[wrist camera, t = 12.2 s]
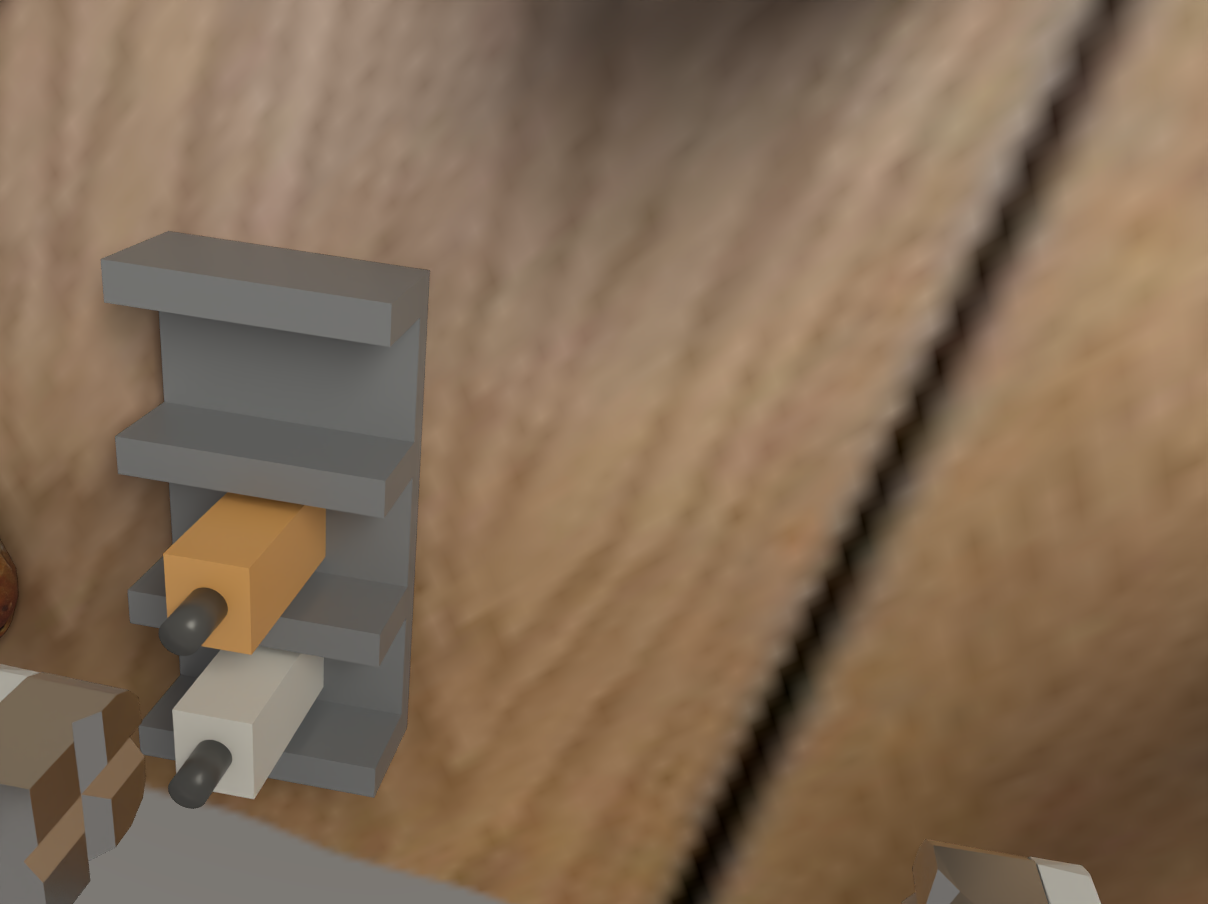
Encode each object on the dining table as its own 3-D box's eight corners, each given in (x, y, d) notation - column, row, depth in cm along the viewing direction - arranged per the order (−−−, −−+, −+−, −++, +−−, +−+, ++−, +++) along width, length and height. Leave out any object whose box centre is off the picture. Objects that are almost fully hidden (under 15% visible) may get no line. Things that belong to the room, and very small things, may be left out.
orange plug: (326, 479, 42) (222, 599, 34) (325, 556, 43) (225, 689, 35) (252, 467, 42) (131, 583, 34) (254, 544, 43) (138, 673, 35)
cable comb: (429, 270, 39) (391, 303, 35) (406, 727, 47) (374, 797, 43) (168, 231, 39) (100, 259, 35) (192, 689, 48) (140, 754, 44)
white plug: (324, 618, 44) (227, 761, 36) (323, 686, 46) (230, 838, 38) (255, 606, 45) (143, 745, 36) (256, 674, 46) (149, 823, 38)
